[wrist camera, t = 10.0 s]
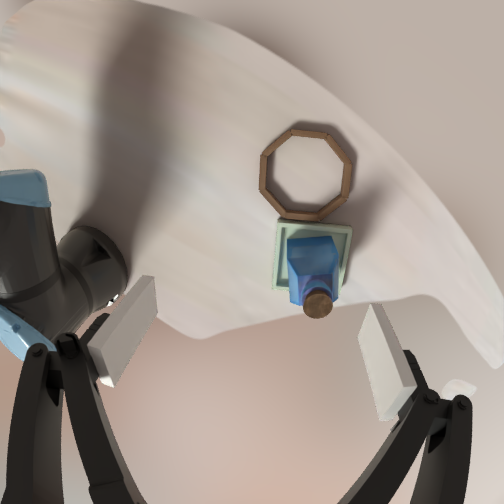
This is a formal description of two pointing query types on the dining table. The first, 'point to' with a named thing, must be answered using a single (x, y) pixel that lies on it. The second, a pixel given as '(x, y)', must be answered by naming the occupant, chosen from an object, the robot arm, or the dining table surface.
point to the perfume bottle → (313, 274)
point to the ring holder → (301, 214)
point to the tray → (304, 230)
